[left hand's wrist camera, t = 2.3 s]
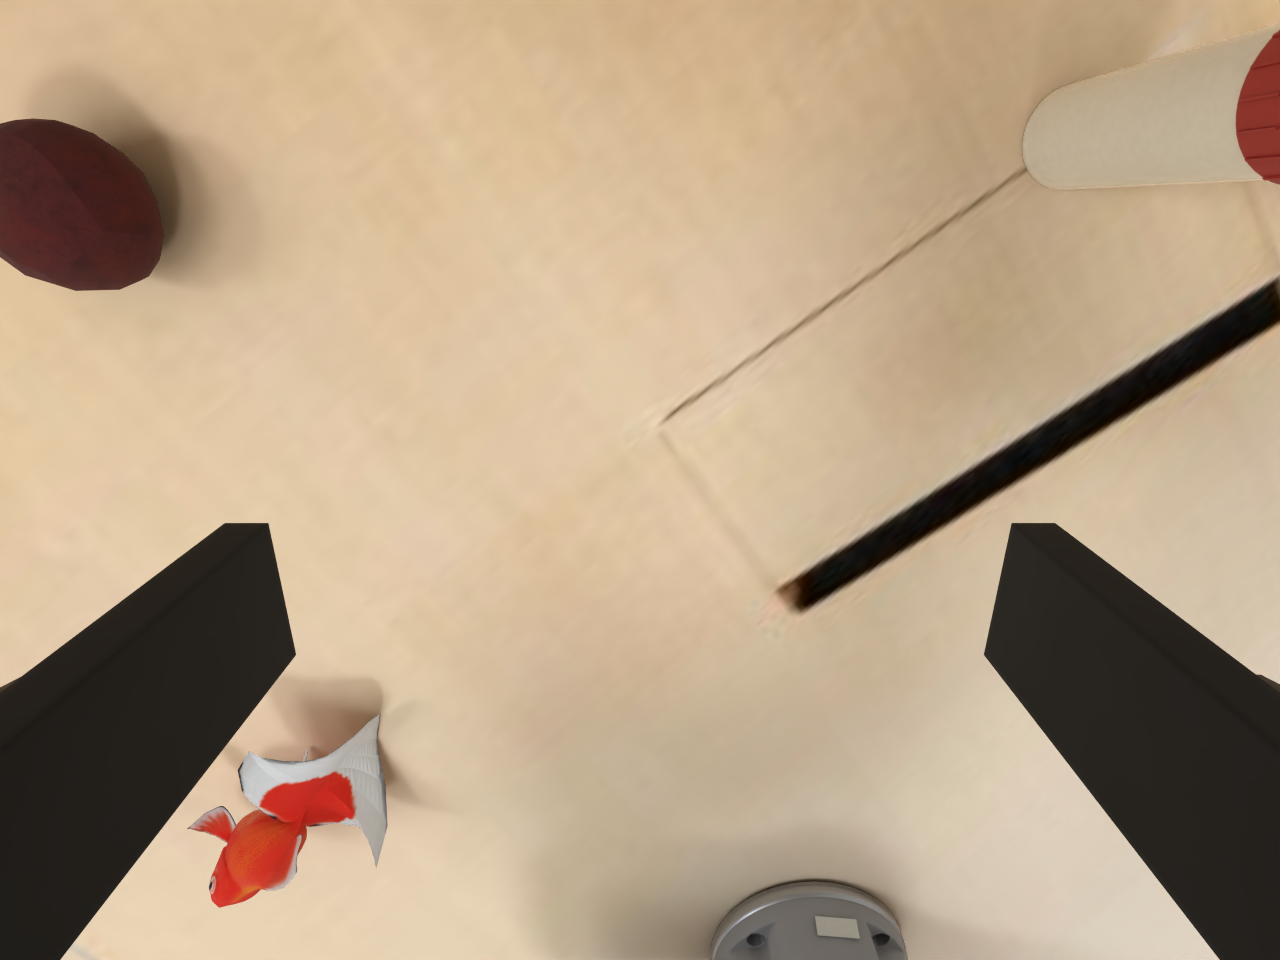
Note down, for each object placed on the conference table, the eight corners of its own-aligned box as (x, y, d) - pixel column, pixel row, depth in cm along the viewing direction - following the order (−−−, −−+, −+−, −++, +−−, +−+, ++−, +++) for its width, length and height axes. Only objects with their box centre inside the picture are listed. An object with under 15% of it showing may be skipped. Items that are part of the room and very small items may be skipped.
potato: (111, 96, 34) (-14, 70, 28) (226, 235, 37) (136, 241, 30) (14, 186, 36) (-127, 181, 29) (130, 314, 38) (24, 336, 32)
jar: (1100, 59, 34) (1444, -53, 19) (1135, 152, 35) (1479, 111, 21) (1006, 122, 35) (1266, 60, 20) (1043, 209, 36) (1311, 209, 22)
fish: (116, 799, 45) (108, 937, 37) (327, 638, 48) (359, 734, 40) (239, 861, 51) (253, 988, 44) (417, 715, 55) (458, 810, 47)
